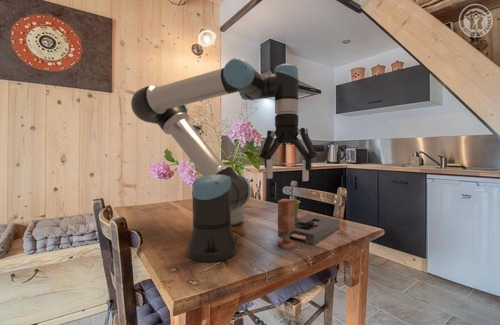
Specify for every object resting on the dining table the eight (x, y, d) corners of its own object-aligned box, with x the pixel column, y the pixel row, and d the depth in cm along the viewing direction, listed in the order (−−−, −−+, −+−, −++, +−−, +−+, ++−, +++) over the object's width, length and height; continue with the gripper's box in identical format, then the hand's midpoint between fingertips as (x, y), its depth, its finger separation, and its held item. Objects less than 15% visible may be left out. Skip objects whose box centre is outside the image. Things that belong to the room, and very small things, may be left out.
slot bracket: (278, 236, 90) (278, 226, 90) (307, 221, 108) (307, 214, 108) (313, 244, 81) (313, 234, 81) (339, 227, 99) (339, 219, 99)
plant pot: (278, 222, 108) (278, 202, 108) (280, 216, 117) (280, 198, 117) (299, 223, 106) (299, 203, 106) (300, 217, 115) (300, 199, 115)
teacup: (240, 227, 101) (240, 208, 100) (215, 225, 103) (215, 207, 102) (247, 218, 114) (247, 201, 114) (225, 217, 116) (225, 200, 116)
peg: (274, 245, 80) (274, 200, 80) (283, 241, 84) (283, 198, 84) (289, 250, 77) (289, 202, 76) (297, 244, 81) (297, 200, 80)
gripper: (328, 111, 74) (328, 180, 75) (262, 119, 90) (262, 176, 91) (318, 108, 68) (317, 183, 69) (249, 117, 84) (250, 178, 85)
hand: (286, 179), depth 80 cm, fingers open, 13 cm apart
